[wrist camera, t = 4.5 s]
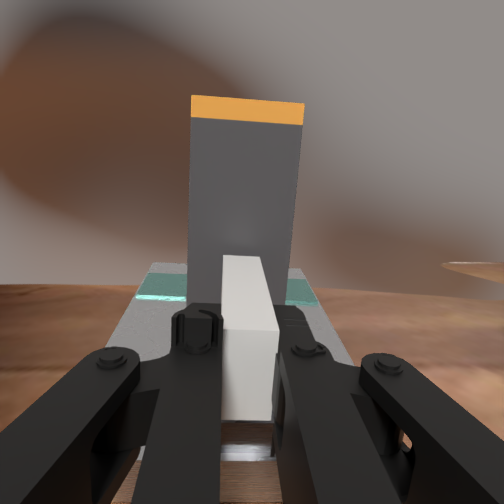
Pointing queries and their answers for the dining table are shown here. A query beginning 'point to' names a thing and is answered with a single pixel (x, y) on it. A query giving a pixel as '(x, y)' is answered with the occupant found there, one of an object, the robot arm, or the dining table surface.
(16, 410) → the dining table surface
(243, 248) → the fader knob
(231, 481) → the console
